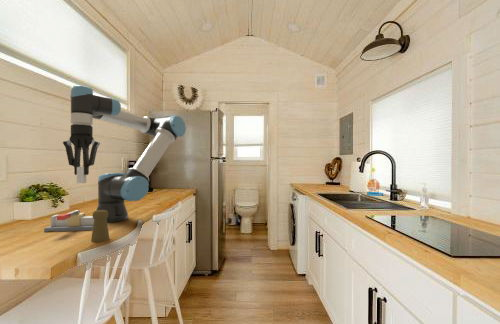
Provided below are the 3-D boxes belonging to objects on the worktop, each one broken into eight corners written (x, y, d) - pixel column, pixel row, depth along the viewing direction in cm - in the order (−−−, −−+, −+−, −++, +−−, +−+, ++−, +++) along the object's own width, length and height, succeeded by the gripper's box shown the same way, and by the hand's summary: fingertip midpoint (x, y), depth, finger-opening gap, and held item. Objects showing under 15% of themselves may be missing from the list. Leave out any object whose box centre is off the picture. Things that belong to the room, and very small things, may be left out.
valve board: (105, 224, 122) (105, 211, 122) (96, 230, 112) (96, 215, 112) (57, 226, 119) (57, 212, 119) (44, 231, 109) (44, 217, 109)
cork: (96, 243, 95) (96, 212, 95) (87, 240, 98) (87, 210, 98) (112, 238, 100) (113, 209, 100) (103, 236, 103) (104, 208, 103)
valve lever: (81, 213, 117) (81, 209, 117) (64, 219, 103) (64, 215, 103) (74, 213, 117) (74, 209, 117) (56, 220, 103) (56, 216, 103)
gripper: (103, 126, 112) (103, 182, 112) (67, 125, 110) (67, 182, 110) (96, 124, 105) (96, 183, 105) (57, 123, 102) (57, 183, 102)
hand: (81, 182), depth 107 cm, fingers closed
